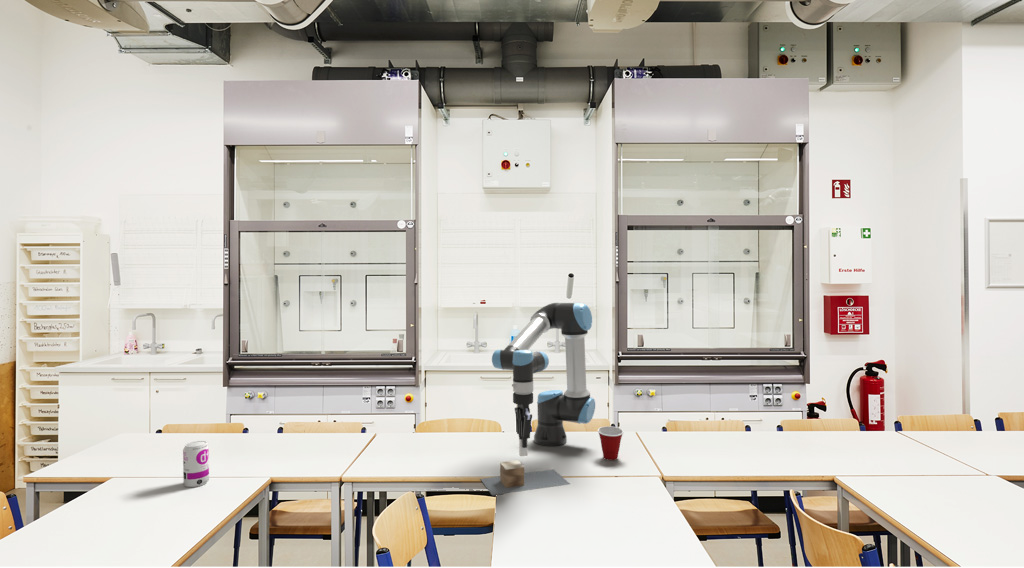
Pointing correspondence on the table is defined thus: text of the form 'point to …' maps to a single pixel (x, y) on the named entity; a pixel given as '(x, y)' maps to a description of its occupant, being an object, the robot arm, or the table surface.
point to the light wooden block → (512, 473)
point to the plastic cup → (610, 441)
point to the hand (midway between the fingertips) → (523, 455)
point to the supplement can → (196, 464)
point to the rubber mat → (526, 482)
